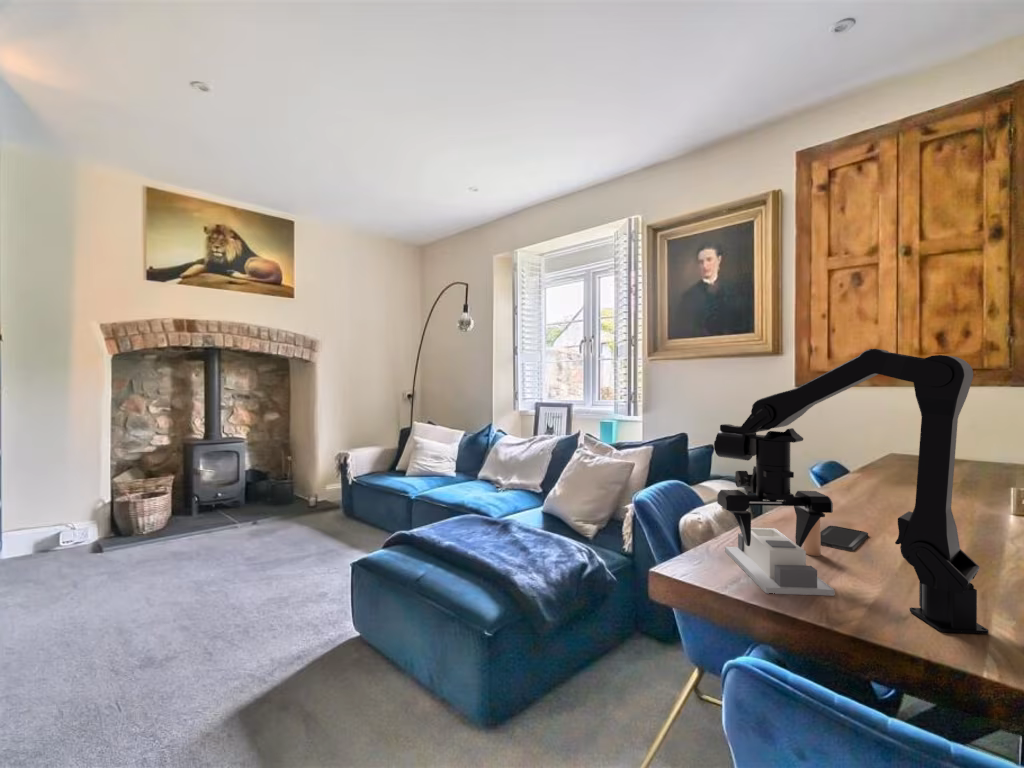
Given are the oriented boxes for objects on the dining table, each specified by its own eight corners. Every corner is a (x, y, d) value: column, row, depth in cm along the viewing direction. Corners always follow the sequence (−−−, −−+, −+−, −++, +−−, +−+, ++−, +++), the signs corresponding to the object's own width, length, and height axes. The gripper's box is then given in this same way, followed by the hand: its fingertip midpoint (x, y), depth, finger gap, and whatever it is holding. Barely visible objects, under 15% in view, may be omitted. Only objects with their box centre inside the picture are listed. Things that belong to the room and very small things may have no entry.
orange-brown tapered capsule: (823, 556, 98) (823, 512, 98) (808, 555, 98) (807, 511, 99) (815, 551, 101) (815, 508, 101) (800, 550, 101) (800, 508, 102)
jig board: (834, 595, 81) (834, 571, 80) (766, 593, 82) (766, 569, 82) (779, 552, 100) (779, 533, 100) (724, 551, 101) (724, 532, 101)
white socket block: (805, 579, 85) (805, 549, 85) (769, 578, 85) (769, 548, 85) (775, 553, 97) (775, 527, 97) (744, 551, 98) (744, 526, 98)
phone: (869, 532, 111) (852, 547, 101) (869, 537, 111) (852, 553, 101) (829, 524, 117) (809, 538, 107) (829, 529, 117) (809, 543, 107)
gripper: (803, 457, 98) (803, 533, 98) (708, 456, 100) (708, 531, 100) (834, 467, 87) (834, 553, 87) (727, 466, 89) (727, 550, 89)
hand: (772, 546), depth 91 cm, fingers open, 9 cm apart
